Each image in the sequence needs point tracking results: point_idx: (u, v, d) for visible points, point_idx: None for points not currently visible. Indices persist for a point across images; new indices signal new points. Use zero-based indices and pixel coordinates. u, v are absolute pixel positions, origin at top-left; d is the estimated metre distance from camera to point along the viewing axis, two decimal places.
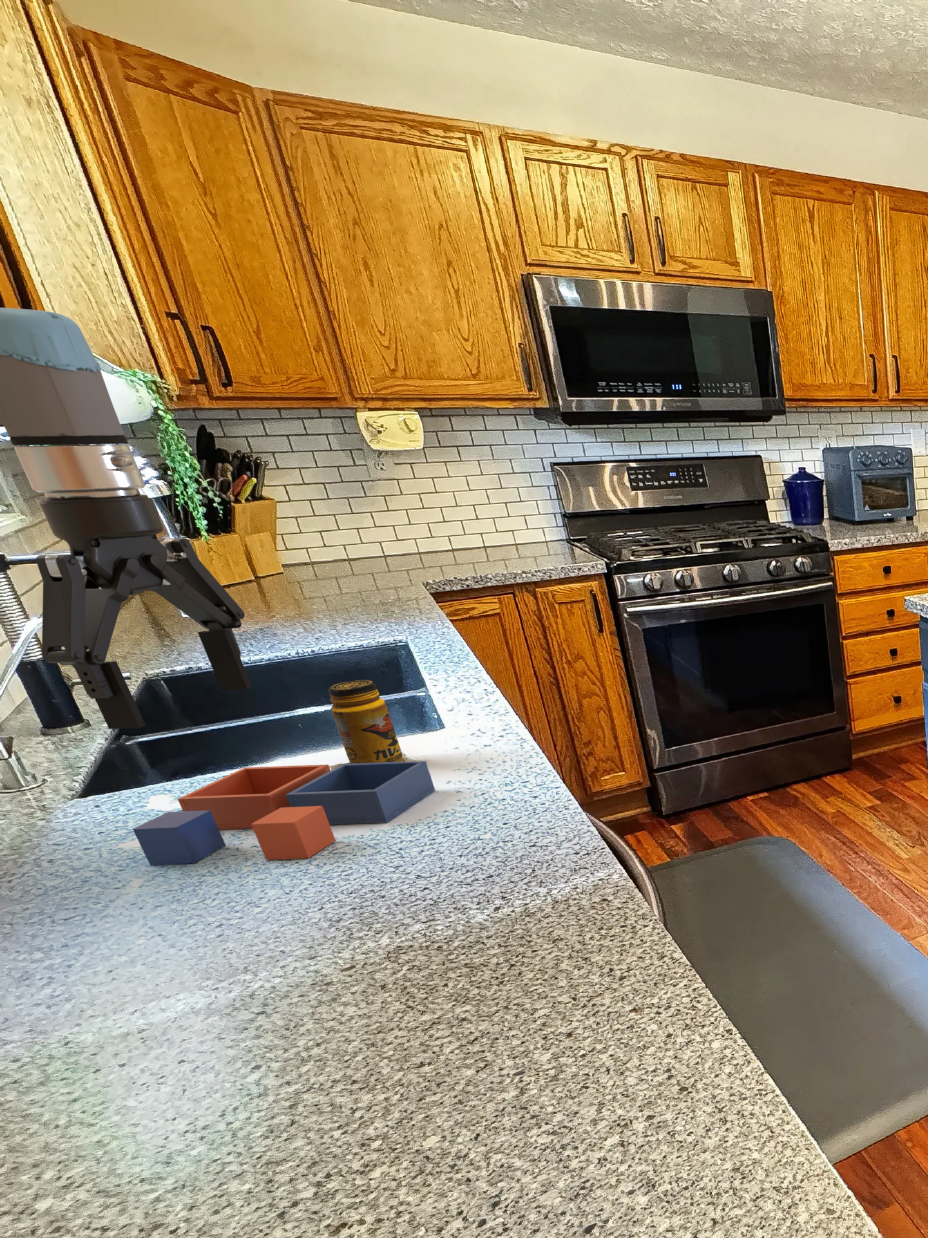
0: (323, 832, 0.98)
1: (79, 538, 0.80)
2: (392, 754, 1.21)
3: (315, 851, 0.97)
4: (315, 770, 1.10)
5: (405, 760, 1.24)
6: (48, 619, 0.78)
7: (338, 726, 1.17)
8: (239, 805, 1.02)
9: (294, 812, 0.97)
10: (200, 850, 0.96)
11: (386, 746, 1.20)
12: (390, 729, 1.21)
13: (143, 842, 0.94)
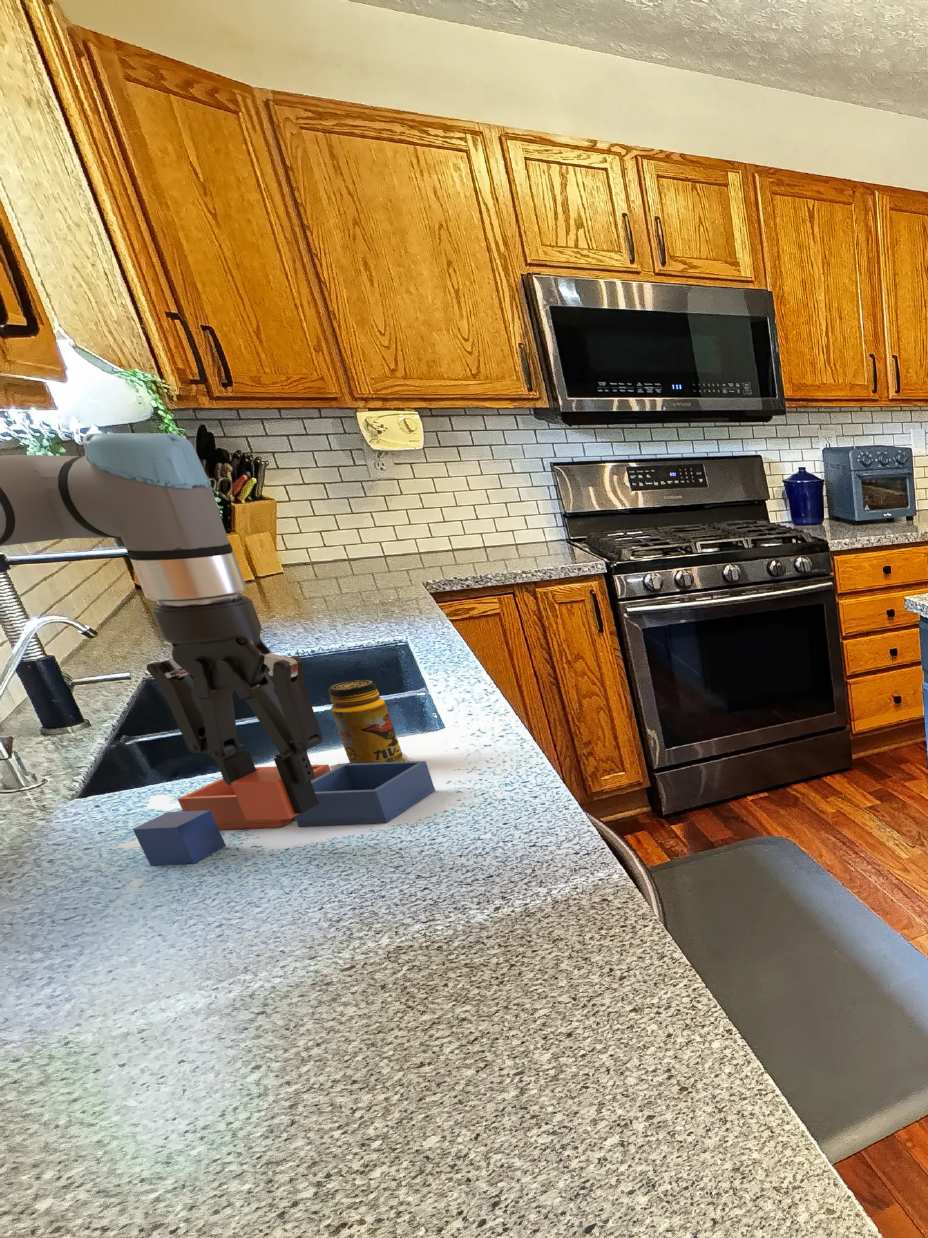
0: None
1: (256, 633, 0.89)
2: (392, 754, 1.21)
3: None
4: (315, 770, 1.10)
5: (405, 760, 1.24)
6: (300, 715, 0.91)
7: (338, 726, 1.17)
8: (239, 805, 1.02)
9: (276, 772, 0.95)
10: (200, 850, 0.96)
11: (386, 746, 1.20)
12: (390, 729, 1.21)
13: (143, 842, 0.94)
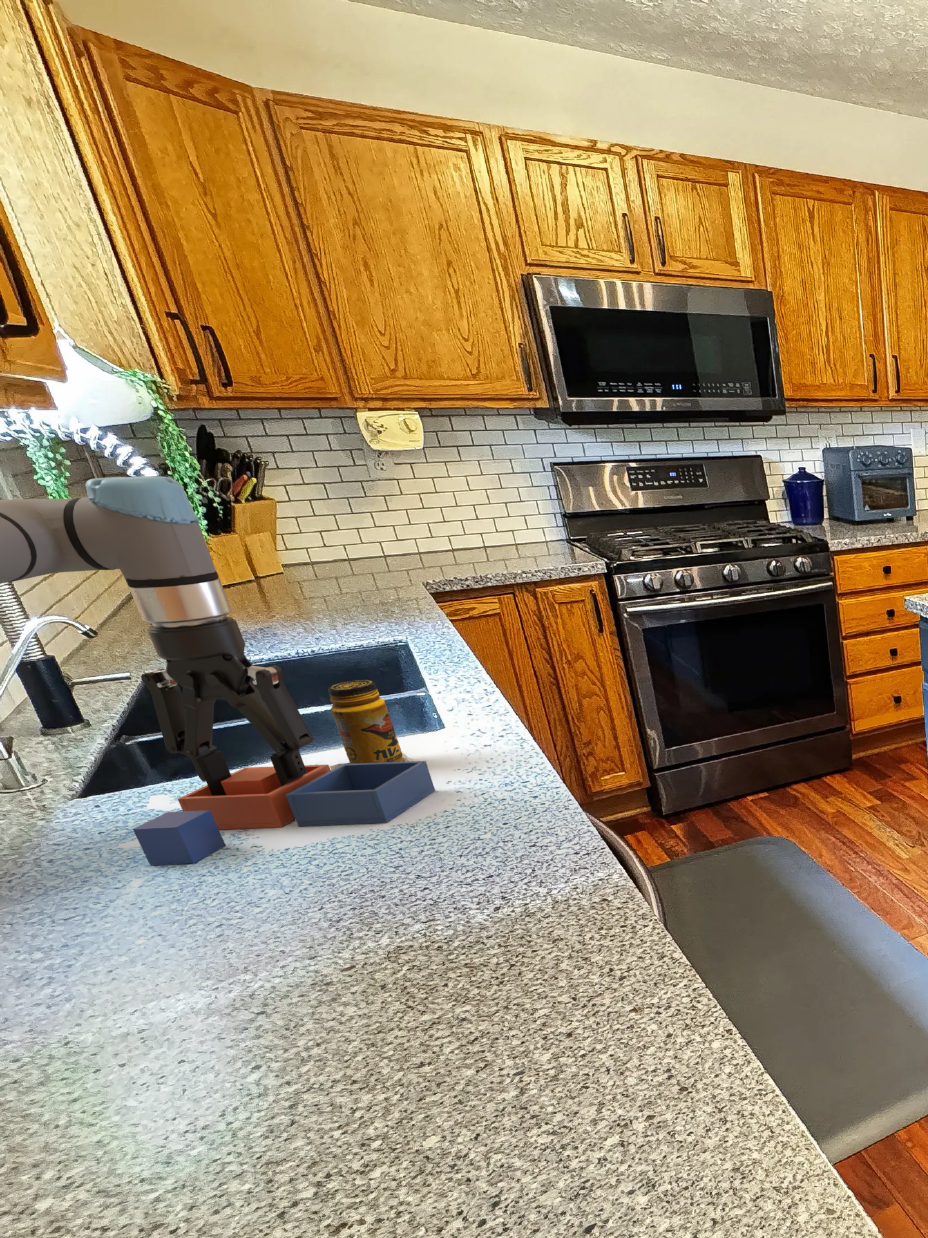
0: None
1: (240, 650, 1.01)
2: (392, 754, 1.21)
3: None
4: (315, 770, 1.10)
5: (405, 760, 1.24)
6: (288, 717, 1.03)
7: (338, 726, 1.17)
8: (239, 805, 1.02)
9: (261, 772, 1.07)
10: (200, 850, 0.96)
11: (386, 746, 1.20)
12: (390, 729, 1.21)
13: (143, 842, 0.94)
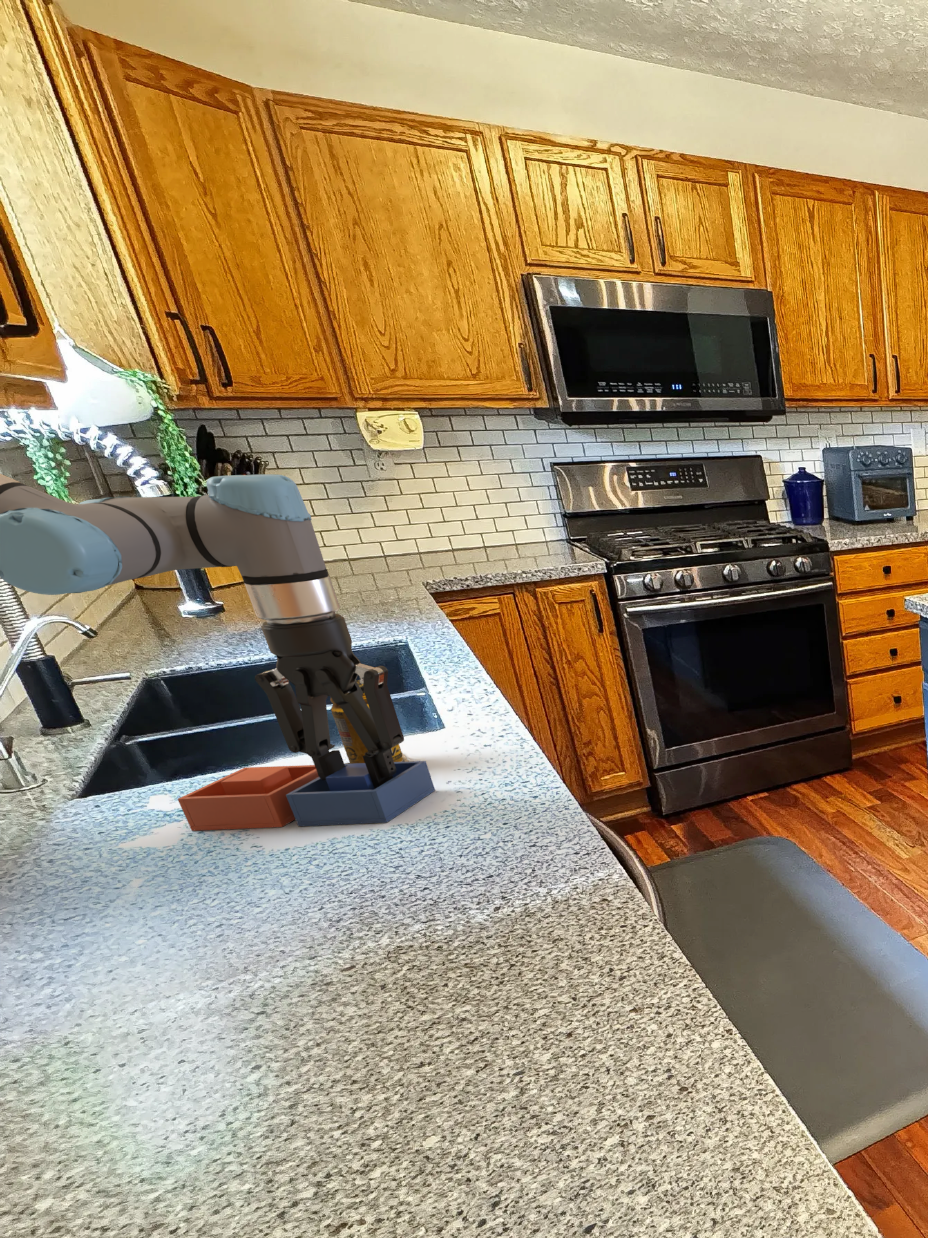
0: None
1: (348, 646, 1.02)
2: (392, 754, 1.21)
3: None
4: (315, 770, 1.10)
5: (405, 760, 1.24)
6: (386, 717, 1.04)
7: (338, 726, 1.17)
8: (239, 805, 1.02)
9: (261, 772, 1.07)
10: None
11: None
12: None
13: (333, 789, 1.05)
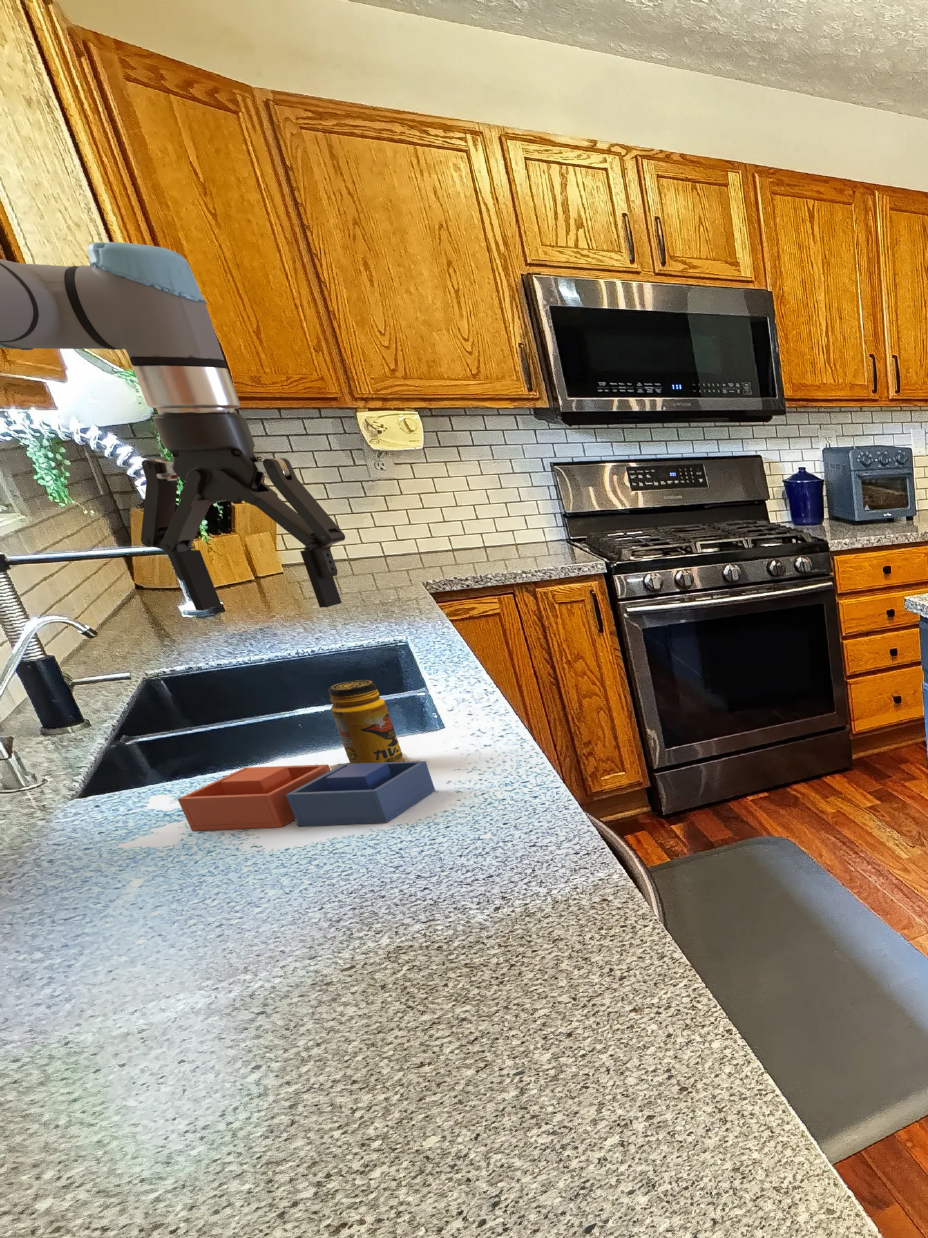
0: None
1: (249, 447, 0.96)
2: (392, 754, 1.21)
3: None
4: (315, 770, 1.10)
5: (405, 760, 1.24)
6: (310, 509, 0.98)
7: (338, 726, 1.17)
8: (239, 805, 1.02)
9: (261, 772, 1.07)
10: None
11: (386, 746, 1.20)
12: (390, 729, 1.21)
13: (334, 790, 1.05)
